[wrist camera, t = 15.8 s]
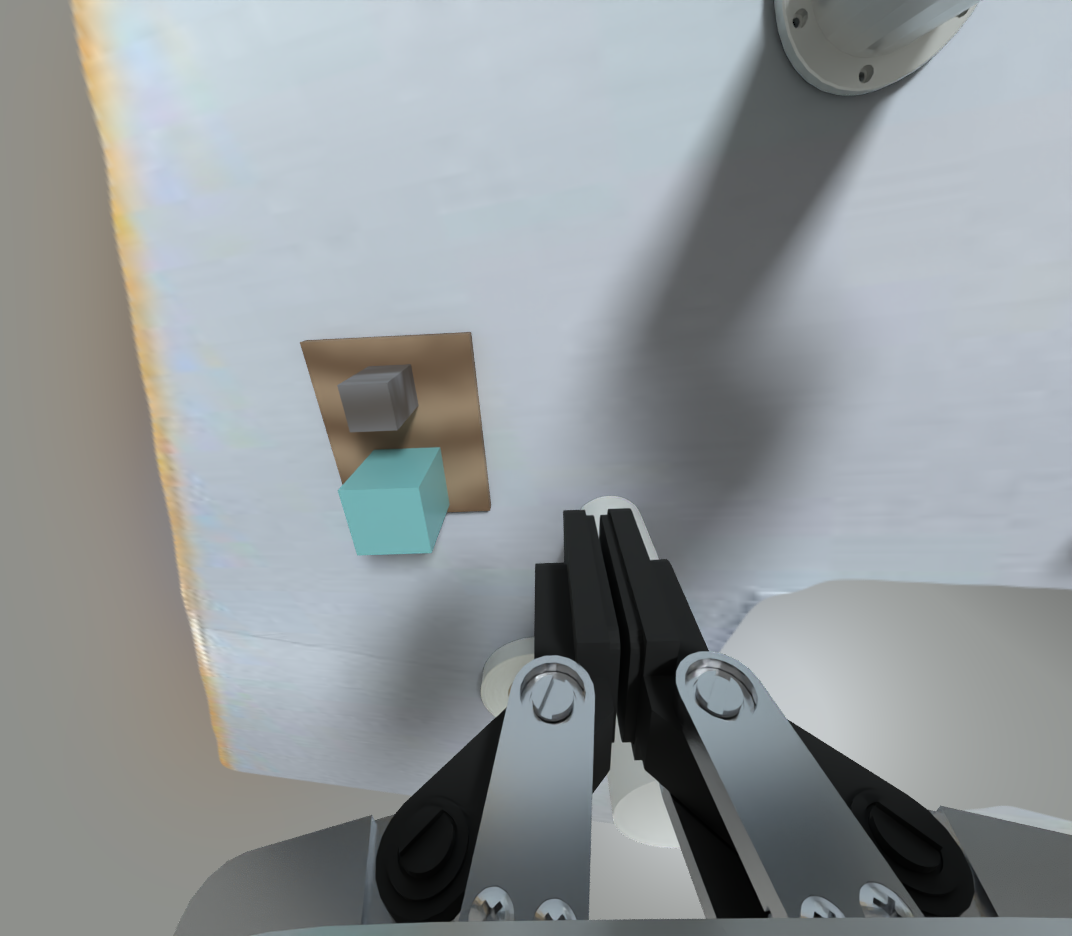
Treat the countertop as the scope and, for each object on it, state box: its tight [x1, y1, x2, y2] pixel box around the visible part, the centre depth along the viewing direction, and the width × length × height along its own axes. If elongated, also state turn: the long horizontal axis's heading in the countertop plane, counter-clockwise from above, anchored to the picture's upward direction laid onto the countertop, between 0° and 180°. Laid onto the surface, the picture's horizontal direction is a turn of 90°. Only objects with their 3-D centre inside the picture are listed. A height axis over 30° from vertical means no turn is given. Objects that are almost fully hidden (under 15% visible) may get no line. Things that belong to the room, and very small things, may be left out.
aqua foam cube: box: [338, 447, 450, 555], centre depth 36 cm, size 6×6×8 cm
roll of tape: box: [481, 637, 534, 717], centre depth 52 cm, size 16×15×3 cm
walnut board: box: [300, 332, 491, 512], centre depth 35 cm, size 17×14×7 cm
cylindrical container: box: [580, 496, 680, 848], centre depth 31 cm, size 7×7×25 cm
